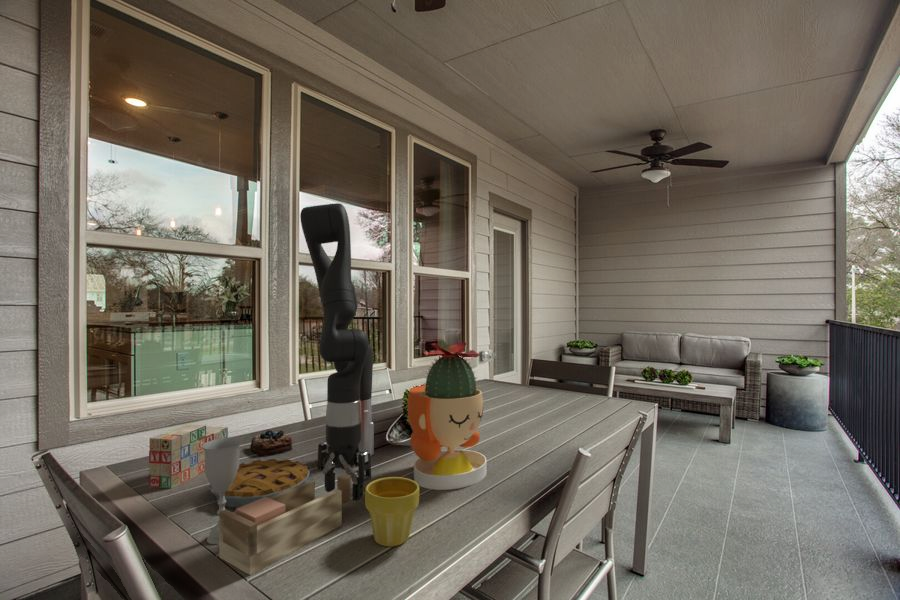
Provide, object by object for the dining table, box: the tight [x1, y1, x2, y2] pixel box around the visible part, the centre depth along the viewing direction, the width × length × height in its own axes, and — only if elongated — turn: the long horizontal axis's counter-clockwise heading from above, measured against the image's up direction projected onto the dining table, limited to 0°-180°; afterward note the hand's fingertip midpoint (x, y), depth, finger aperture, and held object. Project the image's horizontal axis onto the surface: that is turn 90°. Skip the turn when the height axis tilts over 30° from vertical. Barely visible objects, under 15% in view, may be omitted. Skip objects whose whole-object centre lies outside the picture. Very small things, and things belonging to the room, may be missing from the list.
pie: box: [208, 458, 311, 509], centre depth 107 cm, size 22×22×5 cm
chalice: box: [202, 437, 243, 545], centre depth 86 cm, size 7×7×18 cm
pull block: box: [235, 474, 352, 526], centre depth 88 cm, size 24×6×6 cm, turn 146°
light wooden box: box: [218, 479, 343, 576], centre depth 84 cm, size 20×9×8 cm, turn 146°
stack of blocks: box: [148, 423, 229, 489], centre depth 119 cm, size 21×6×12 cm, turn 171°
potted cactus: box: [407, 341, 488, 491], centre depth 119 cm, size 22×22×35 cm
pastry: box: [249, 429, 293, 457], centre depth 137 cm, size 11×12×6 cm
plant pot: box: [364, 476, 420, 547], centre depth 86 cm, size 10×10×10 cm
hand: (343, 495), depth 97 cm, fingers open, 8 cm apart
